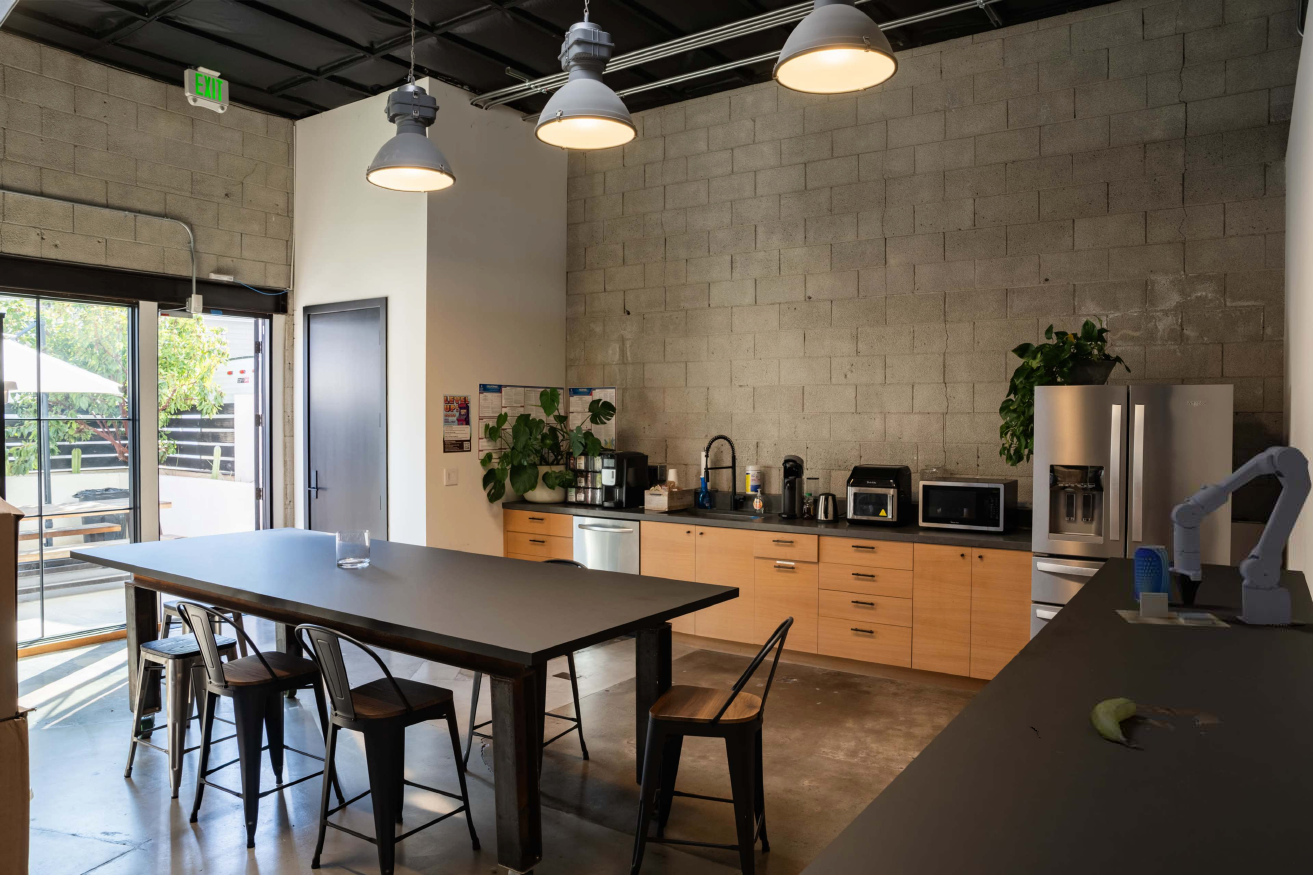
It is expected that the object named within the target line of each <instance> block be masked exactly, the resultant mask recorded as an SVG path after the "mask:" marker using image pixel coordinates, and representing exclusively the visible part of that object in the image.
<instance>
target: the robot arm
mask: <svg viewBox="0 0 1313 875" xmlns="http://www.w3.org/2000/svg"><path fill="white" fill-rule="evenodd" d="M1268 474H1273V475H1275V476H1276V477H1277V479H1278V481H1279V482H1280V483H1281V485H1282V486H1283V488H1282V491H1281V492H1280V495H1279V496H1278V499H1277V501H1276V504H1275V506H1274V508H1273V511H1272V512H1271V514H1270V517H1269V519H1268V521H1267V524H1266V526H1265V528H1264V529H1263V533H1262V535H1261V537H1260V539H1259V541H1258V544H1256V546H1255V547H1254V548H1253V549H1252V550H1250V554H1249V555H1248V556H1247V558H1245V559H1244V560H1242V561H1241V563H1240V565H1239V573H1240V575H1241V576H1242V578H1244V580H1243V582H1242V583H1241V589H1242V594H1241V595H1242V596H1241V597H1242V599H1241V600H1242V615H1241V616H1239V615H1236V618H1237V619H1238V620H1240V621H1242V622H1243V623H1246V624H1248V625H1266V624H1267V625H1268V624H1270V625H1269V626H1271V625H1272V624H1274V625H1272V626H1288V625H1287V624H1286V625H1285V624H1283V625H1282V623H1291V624H1292V600H1291V594H1290V591H1289V590H1288V589H1287V588H1286V587H1279V585H1278V583H1279V581H1280V580H1281V579H1280V578H1281V566H1282V564H1283V558H1282V553H1283V551H1284V549H1285V547H1286V545H1287V542H1288V540H1289V538H1290V536H1291V533H1293V532H1292V531H1293V529H1294V527H1295V525H1296V523H1297V521H1298V518H1299V516H1300V514H1301V511H1303V510H1302V509H1303V507H1304V505H1305V503H1306V500H1307V499H1308V497H1309V494H1310V492H1311V490H1312V481H1311V475H1310V472H1309V460H1308V458H1307V457H1306V456H1305V455H1304V453H1303V451H1301V450H1300V449H1299V448H1296V447H1294V446H1293V447H1292V446H1279V445H1275V446H1271V447H1268V448H1266V449H1265V451H1264V452H1261V453H1258V454H1256V455H1255V456H1254V457H1253V458H1250V460H1248V461H1247V462H1246V463H1245V464H1243V465H1241V467H1239V468H1237V470H1235V471H1234V472H1233V473H1232V474H1230V475H1229V476H1228V477H1226V478H1225V479H1224V480H1222V481H1221V482H1220V483H1218V484H1216V483H1209V484H1208V485H1205V484H1203V485H1202V486H1201V487H1200V490H1199V491H1198V492H1196V494H1194V495H1192V496H1190V498H1189V497H1187V498H1186V497H1185V499H1184V503H1180V504H1178V505H1176V506H1174V507H1173V509H1172V512H1171V513H1170V519H1171V520H1172V522H1173V525H1174V526H1173V530H1174V531H1173V561H1174V562H1173V563H1174V564H1173V566H1174V567H1170V568H1169V570H1170V572H1175V573H1179V575H1173V576H1172V578H1173V581H1174V582H1175V583H1176V587H1177V589H1178V592H1179V595H1180V599H1181V603H1182V605H1184V606H1194V604H1195V601H1196V596H1197V592H1198V590H1199V587H1200V586H1201V584H1202V582H1203V578H1202V572H1203V571H1202V566H1201V562H1202V561H1201V532H1200V525H1201V524H1202V523H1203V520H1204V518H1205V517H1208V516H1210V514H1213V513H1214V512H1215V511H1216V510H1218V509H1219V508H1221V507H1222V506H1223V505H1225V504H1227V503H1228V502H1229V496H1230V494H1231V493H1233V492H1234V491H1236V490H1238V489H1239V488H1240V487H1242V486H1243V485H1245V484H1247V483H1249V482H1250V481H1251V480H1254V478H1256V477H1258V476H1260V475H1268ZM1276 624H1277V625H1276ZM1279 624H1280V625H1279ZM1267 625H1266V626H1267Z"/></svg>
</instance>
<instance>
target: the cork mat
mask: <svg viewBox="0 0 1313 875" xmlns="http://www.w3.org/2000/svg"><path fill="white" fill-rule="evenodd" d="M1115 612H1117V613H1118V614H1119V615H1120V616H1121V617H1122V618H1124V620H1126V621H1127V622H1128V623H1129V624H1146V625H1147V624H1149V625H1169V626H1170V625H1172V626H1196V627H1217V628H1218V627H1219V628H1232V626H1231V625H1229V624H1227V623H1226V622H1225V621H1223V620H1221V619H1219V618H1218V617H1216V616H1214V615H1213V614H1211V613H1205V612H1203V613H1204V614H1206V615H1207V616H1209V617H1211V618H1212V624H1191V623H1183V622H1182V621H1180V620H1179V619H1177V612H1175V611H1168V618H1161V617H1141V616H1140V610H1124V609H1115Z"/></svg>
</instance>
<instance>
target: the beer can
mask: <svg viewBox="0 0 1313 875" xmlns="http://www.w3.org/2000/svg"><path fill="white" fill-rule="evenodd" d="M1133 561H1134V599H1135V600H1136V601H1137V603H1138V604H1140V592H1147V593H1167V594H1168V603H1170V602H1171V574H1170V573H1171V571H1170V570H1169V568H1171V567H1170V564H1171V562H1170V554H1169V553H1168V551H1167V550H1166V546H1164V545H1158V544H1157V545H1156V544H1141V545H1140V544H1139V545H1138V546H1137V549H1136V551H1135V552H1134V560H1133Z"/></svg>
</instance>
